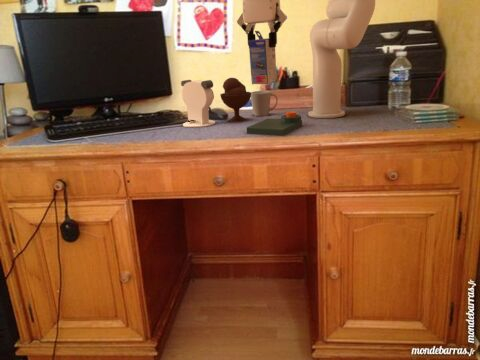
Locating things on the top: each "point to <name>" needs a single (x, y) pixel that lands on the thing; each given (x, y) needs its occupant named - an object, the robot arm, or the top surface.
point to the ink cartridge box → (262, 61)
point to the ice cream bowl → (235, 97)
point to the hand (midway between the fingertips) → (262, 47)
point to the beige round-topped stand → (198, 102)
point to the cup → (262, 102)
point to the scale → (276, 126)
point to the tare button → (290, 114)
